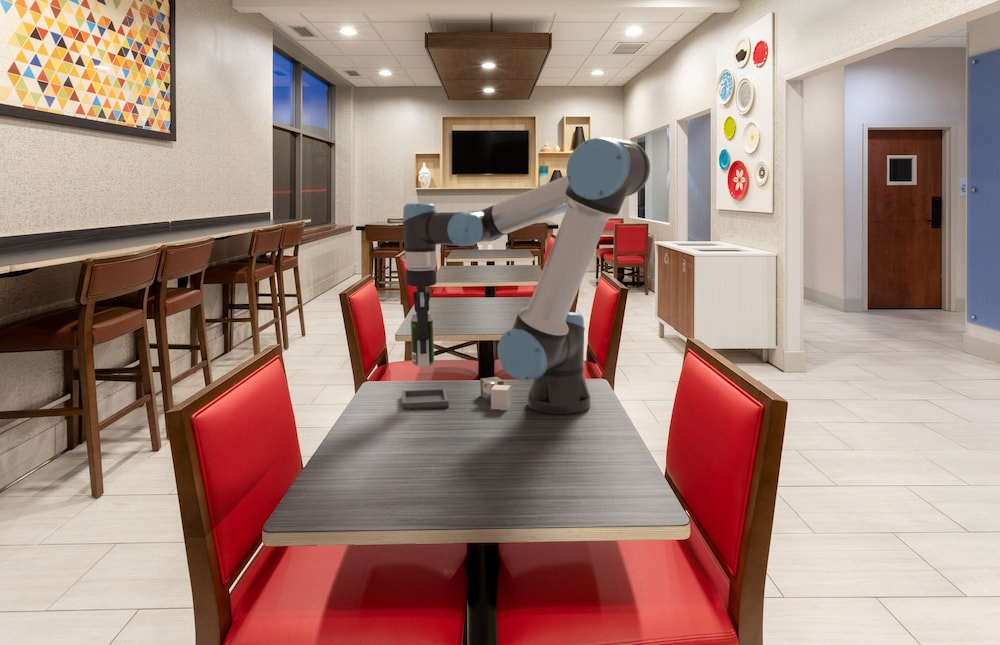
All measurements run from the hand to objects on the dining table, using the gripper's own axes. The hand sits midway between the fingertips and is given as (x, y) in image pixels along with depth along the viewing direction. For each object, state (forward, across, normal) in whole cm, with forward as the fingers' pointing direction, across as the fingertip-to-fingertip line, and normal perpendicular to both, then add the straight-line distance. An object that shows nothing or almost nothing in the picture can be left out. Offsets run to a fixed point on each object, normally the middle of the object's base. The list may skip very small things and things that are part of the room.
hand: (423, 362), depth 173 cm
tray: (+10, 0, 0) cm, 10 cm away
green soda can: (+1, 0, 0) cm, 1 cm away
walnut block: (+10, -1, +17) cm, 20 cm away
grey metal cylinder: (+10, +3, +16) cm, 19 cm away
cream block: (+10, +8, +18) cm, 22 cm away
